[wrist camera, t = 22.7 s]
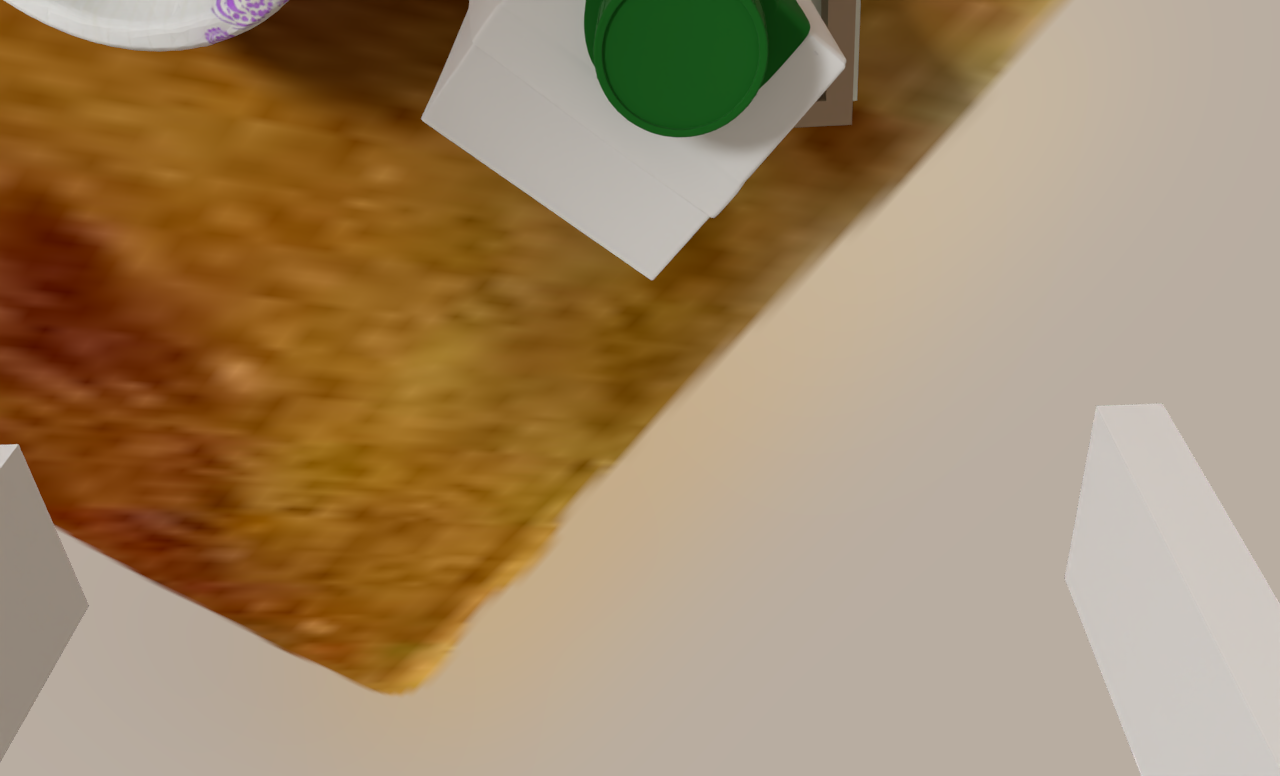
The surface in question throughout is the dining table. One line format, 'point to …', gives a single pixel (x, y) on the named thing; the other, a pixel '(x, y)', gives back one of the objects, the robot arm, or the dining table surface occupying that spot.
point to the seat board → (835, 105)
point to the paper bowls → (151, 20)
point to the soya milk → (632, 106)
